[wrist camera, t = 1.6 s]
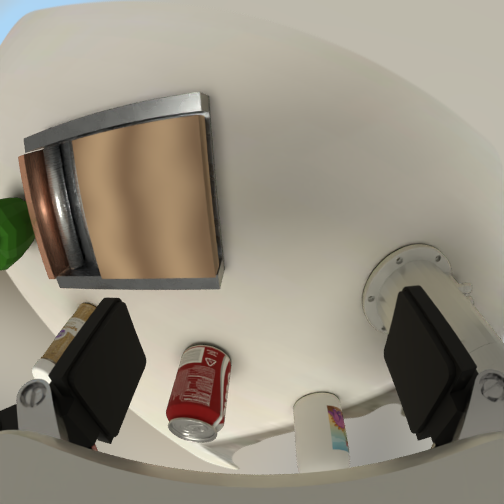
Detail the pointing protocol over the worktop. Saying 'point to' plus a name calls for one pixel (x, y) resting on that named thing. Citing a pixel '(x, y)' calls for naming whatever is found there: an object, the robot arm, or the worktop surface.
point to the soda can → (199, 394)
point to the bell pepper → (14, 231)
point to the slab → (149, 200)
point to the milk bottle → (320, 434)
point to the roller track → (120, 122)
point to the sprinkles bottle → (61, 342)
